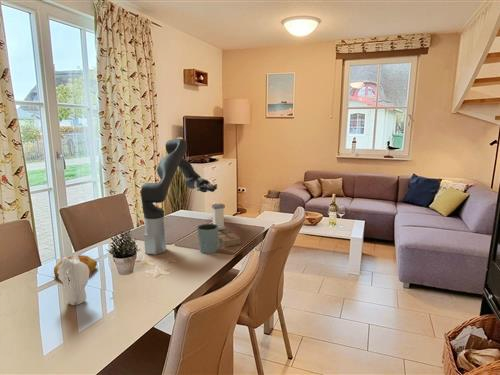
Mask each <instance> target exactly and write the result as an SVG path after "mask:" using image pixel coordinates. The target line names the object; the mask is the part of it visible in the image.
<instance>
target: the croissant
mask: <svg viewBox="0 0 500 375" xmlns="http://www.w3.org/2000/svg"><path fill="white" fill-rule="evenodd" d="M77 255H78V254H77ZM66 257H67V258H68V259H69V260H70V259H71V260H72V259H73V260H74V257H73V255H72V256H66ZM71 257H72V258H71ZM78 257H79V260H80V261H81V262H83V263H85V264H86V265H87V266H88V268H89V276H91V275H92V273H93V272H94V271H95V270H96V267H98V266H97V265H98V262H97V261H96V260H95V259H94V258H92V257H90V256H89V255H83V254H82V255H80V254H79V255H78ZM73 260H72V261H73ZM62 262H63V259H61V261H60V262H58V263H57V264H56V265H55V266H54V268H53V273H54V276H55V278H57V279H59V278H58V276H59V274H58V273H57V271H58V266H60V265H61V264H62ZM68 272H69V271H68ZM66 274H67V272H66ZM67 275H68V274H67ZM68 280H70V279H69V276H68Z"/></svg>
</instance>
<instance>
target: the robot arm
mask: <svg viewBox="0 0 500 375" xmlns="http://www.w3.org/2000/svg"><path fill="white" fill-rule="evenodd" d="M164 147H165V151H166V154H167V155H166V156H164V157H163V158H162V159H161V160H160V161H159V163H158V166H157V167H156V173H157V176H158V178H159V179H160V182H145V183H143V184H142V185H141V187H140V198H141V206H142V214H143V219H144V220H143V221H144V234H143V240H144V241H143V242H144V254H148V255H154V256H156V255H158V254H159V255H160V254H163V253H165V252H166V251H167V242H166V241H167V240H166V238H167V237H166V222H165V210H164V209H162V208H160V207H158V206H156V205H155V204H160V203H163V202H165V200H166V198H167V195H168V192H169V189H170V186H171V183H172V181H173V179H174V176H175V174H176V172H177V170H178V168H179V169H180V171H181V172H182V174H183V176H184V178H186V179H185V181H184V183H185V186H186V187H187V188H188V189H192V190H194V189H196V190H197V191H199V192H201V193H207V192H210V193H214V192H215V191H216V190H217V189H218V184H217V183H215V184H212V183H211V182H210V181H209V180H208V179H205V178H203V177H202V176H201V175H200V174H198V173H197V172H196V170H194V167H193V165H192V164H191V163H190V162H189V161H188V160H187V159H186V158H184V156H185V155H186V154H187V150H188V143H187V141H186V140H185V139H183V138H177V139H169V140H167V141H166V142H165V146H164ZM154 203H155V204H154Z"/></svg>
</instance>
